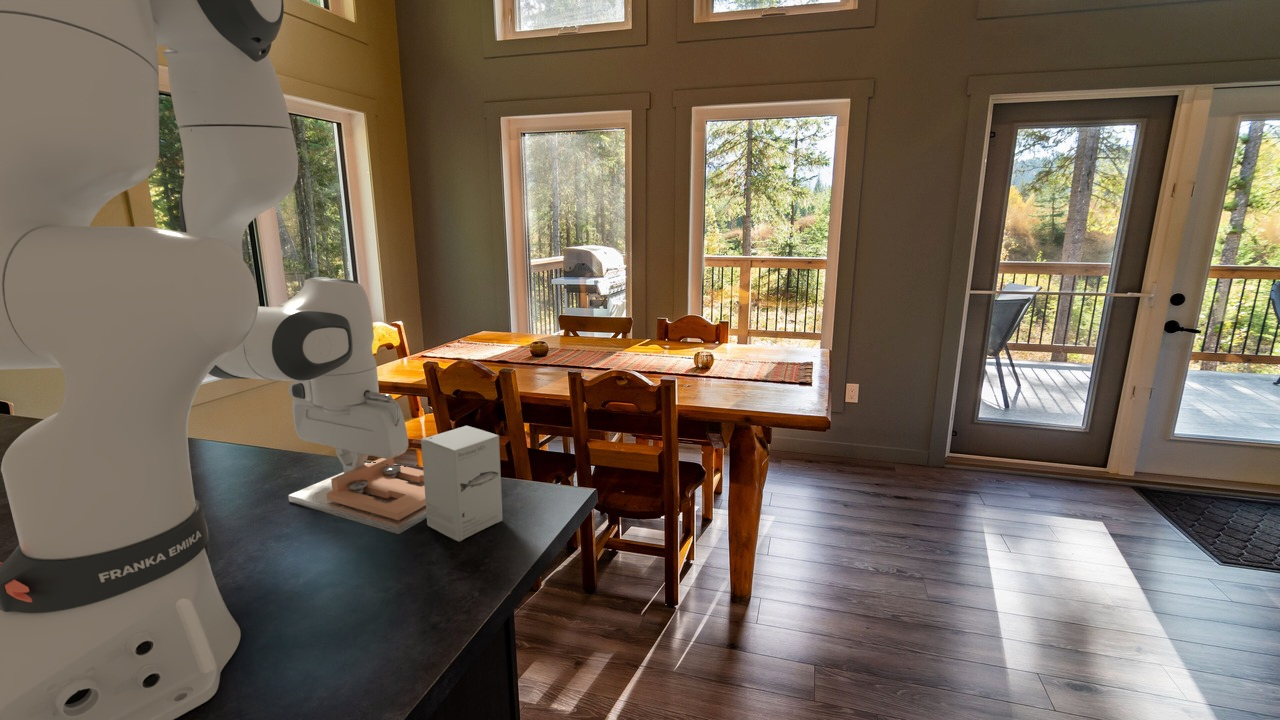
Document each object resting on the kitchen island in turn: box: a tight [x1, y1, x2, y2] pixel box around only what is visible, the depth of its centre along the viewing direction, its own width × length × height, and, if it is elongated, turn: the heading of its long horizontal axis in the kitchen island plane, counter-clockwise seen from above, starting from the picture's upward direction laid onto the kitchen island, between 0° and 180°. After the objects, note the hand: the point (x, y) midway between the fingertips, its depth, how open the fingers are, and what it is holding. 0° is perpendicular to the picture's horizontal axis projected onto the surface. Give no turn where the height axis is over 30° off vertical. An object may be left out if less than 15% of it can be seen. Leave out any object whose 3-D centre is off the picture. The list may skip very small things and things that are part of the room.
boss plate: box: [287, 462, 427, 535], centre depth 85 cm, size 14×22×3 cm, turn 65°
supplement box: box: [420, 425, 504, 543], centre depth 76 cm, size 7×7×13 cm
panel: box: [326, 457, 426, 520], centre depth 84 cm, size 12×14×3 cm
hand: (355, 474), depth 87 cm, fingers closed
